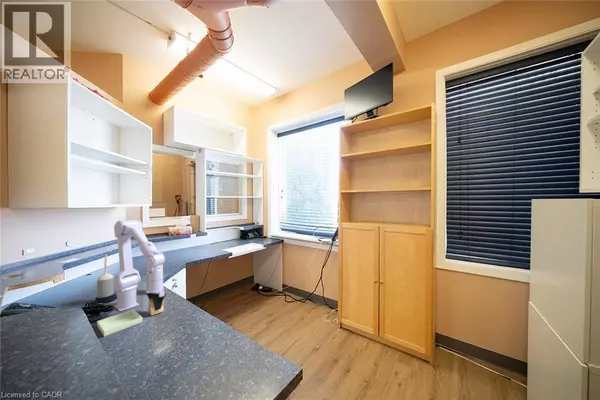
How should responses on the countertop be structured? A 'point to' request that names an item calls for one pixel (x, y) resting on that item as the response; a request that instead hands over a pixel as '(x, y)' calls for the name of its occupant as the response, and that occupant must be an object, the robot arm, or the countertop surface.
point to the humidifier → (105, 286)
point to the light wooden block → (147, 280)
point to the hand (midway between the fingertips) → (156, 308)
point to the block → (152, 310)
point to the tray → (119, 322)
